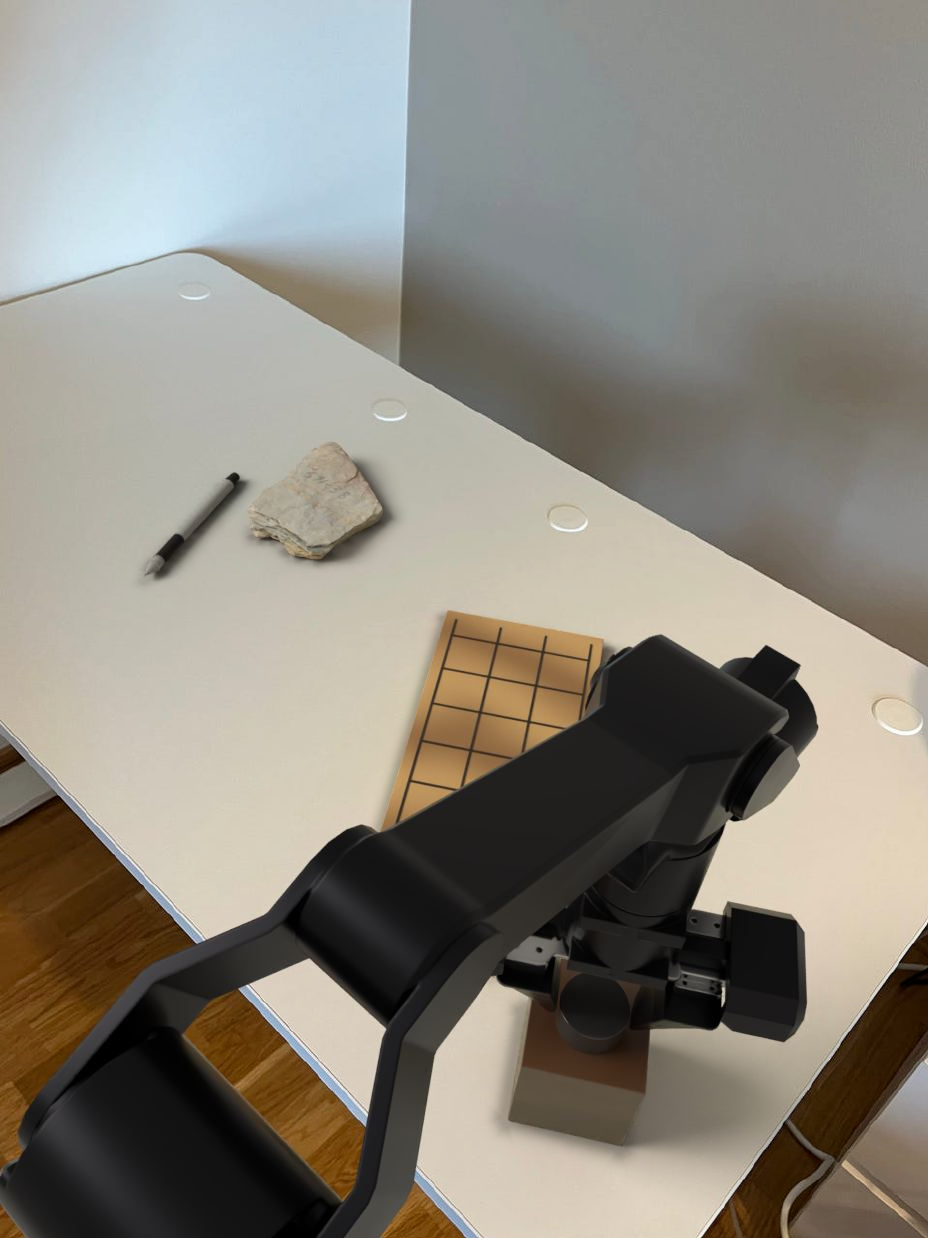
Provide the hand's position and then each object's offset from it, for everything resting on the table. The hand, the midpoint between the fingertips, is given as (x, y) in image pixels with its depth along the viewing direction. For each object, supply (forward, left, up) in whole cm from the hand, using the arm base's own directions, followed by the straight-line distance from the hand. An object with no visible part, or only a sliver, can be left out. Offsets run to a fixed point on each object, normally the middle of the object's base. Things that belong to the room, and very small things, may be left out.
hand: (592, 1012), depth 61 cm
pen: (+44, +42, -9) cm, 62 cm away
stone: (+49, +32, -9) cm, 59 cm away
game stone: (0, 0, -1) cm, 1 cm away
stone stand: (0, 0, -9) cm, 9 cm away
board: (+22, +9, -9) cm, 25 cm away
